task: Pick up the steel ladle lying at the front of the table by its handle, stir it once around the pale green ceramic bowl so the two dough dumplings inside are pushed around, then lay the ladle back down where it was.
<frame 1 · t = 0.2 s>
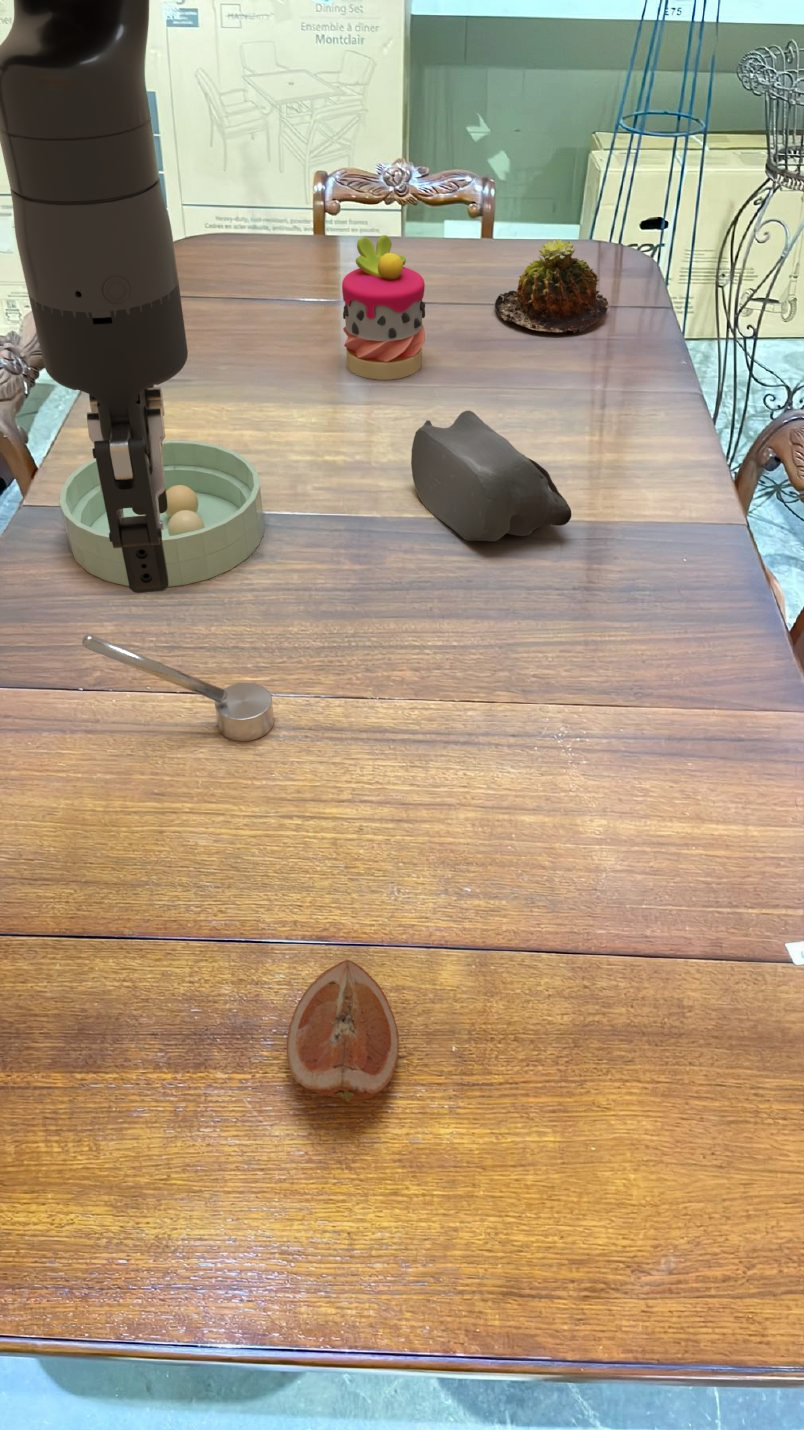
hand: (150, 548, 66), 24 cm above the table, tool pointing down, fingers open, 8 cm apart
dumpling a: (188, 544, 107), point 1 cm above the table, touching bowl
dumpling b: (182, 518, 111), point 1 cm above the table, touching bowl
fruit slice: (343, 1064, 66), on the table
ladle: (246, 722, 89), on the table
rock: (484, 508, 114), on the table
cake: (384, 365, 141), on the table
cactus: (550, 314, 154), on the table
bowl: (169, 539, 109), on the table
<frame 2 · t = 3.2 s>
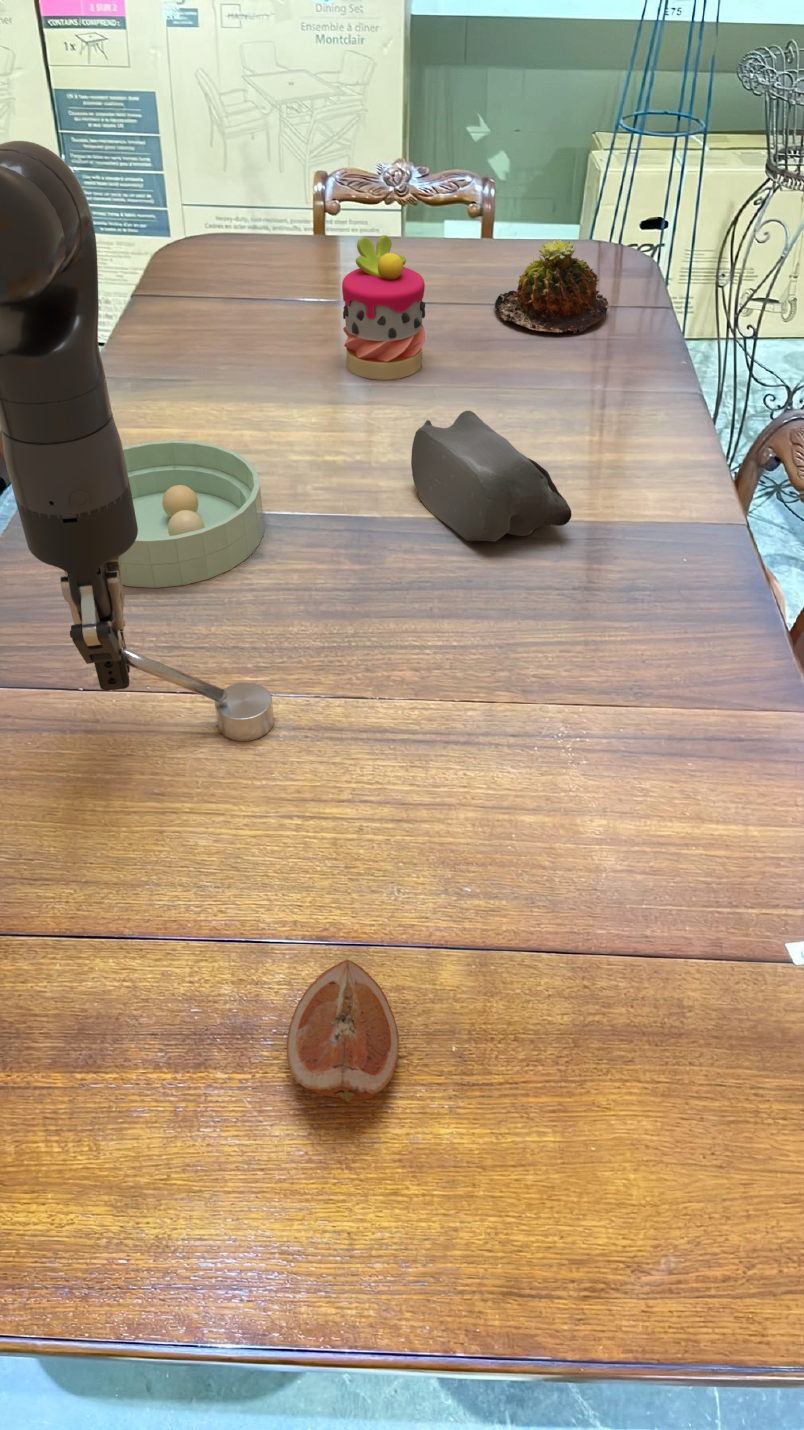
hand: (115, 679, 84), 6 cm above the table, tool pointing down, fingers closed on ladle
ladle: (246, 722, 89), on the table, touching gripper
everything else where it was.
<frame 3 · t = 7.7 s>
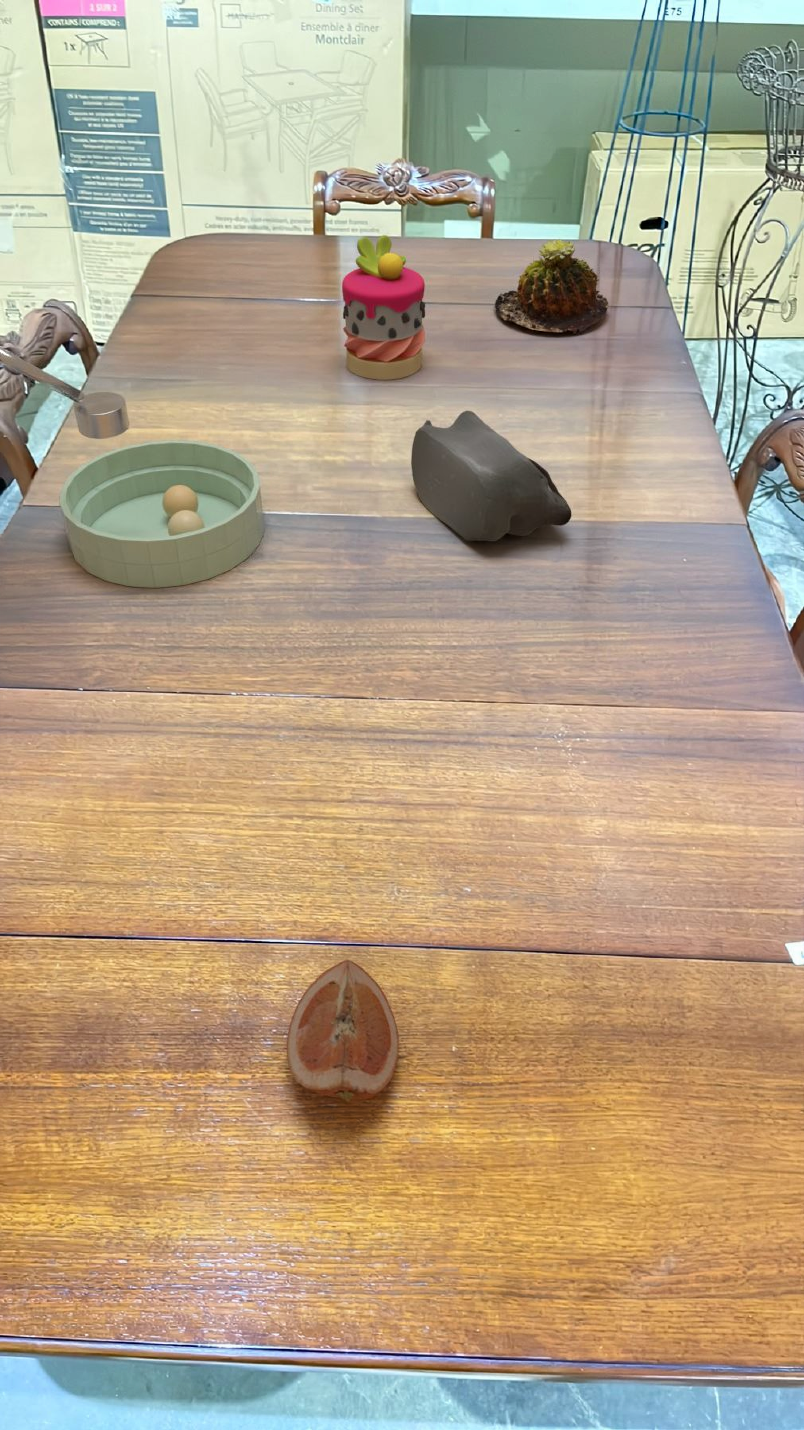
ladle: (104, 427, 99), point 13 cm above the table, touching gripper
everything else where it was.
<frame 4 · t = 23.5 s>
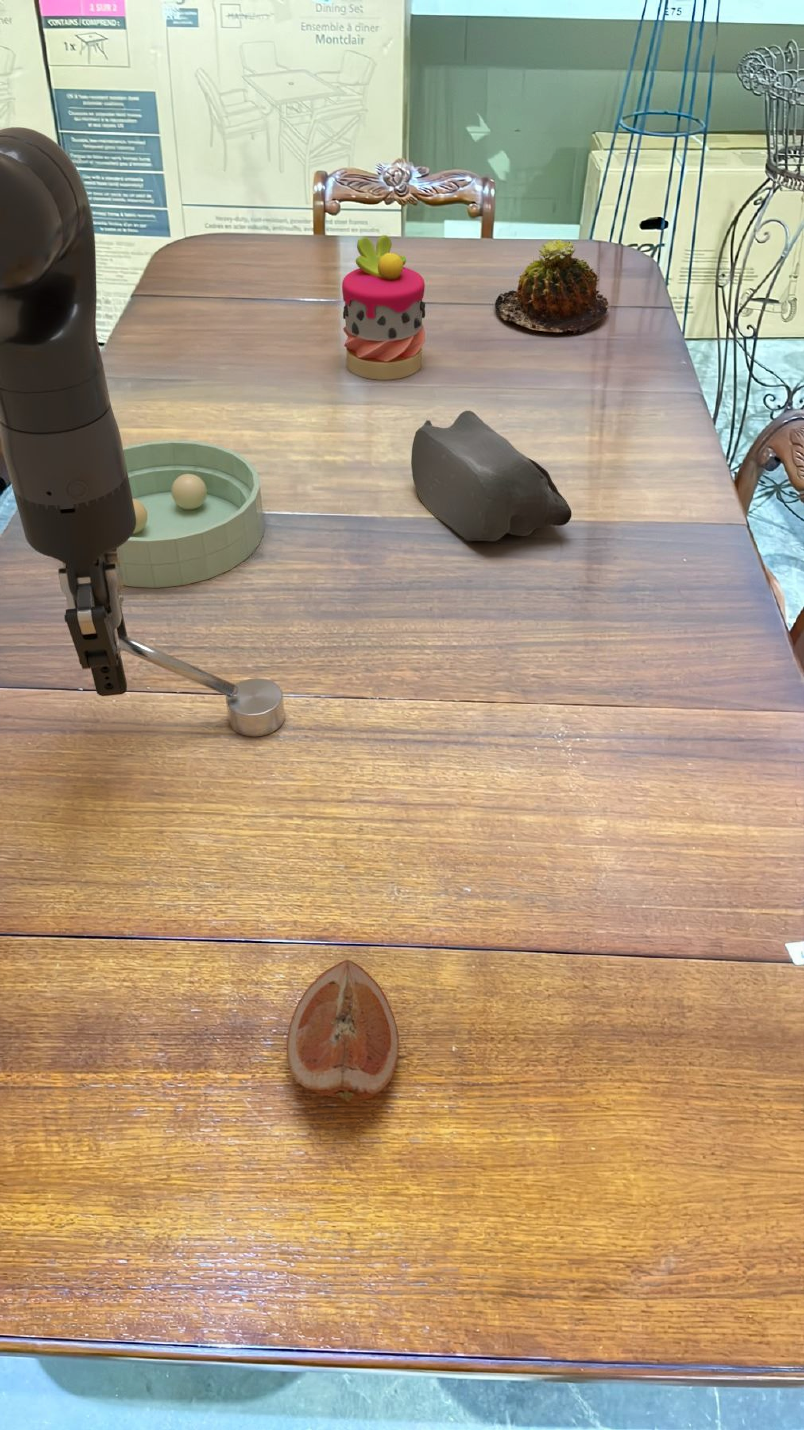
hand: (113, 669, 83), 7 cm above the table, tool pointing down, fingers open, 4 cm apart
dumpling a: (189, 500, 110), point 3 cm above the table, tilted 92°, touching bowl
dumpling b: (143, 517, 107), point 3 cm above the table, tilted 99°, touching bowl
ladle: (257, 718, 89), on the table
everything else where it was.
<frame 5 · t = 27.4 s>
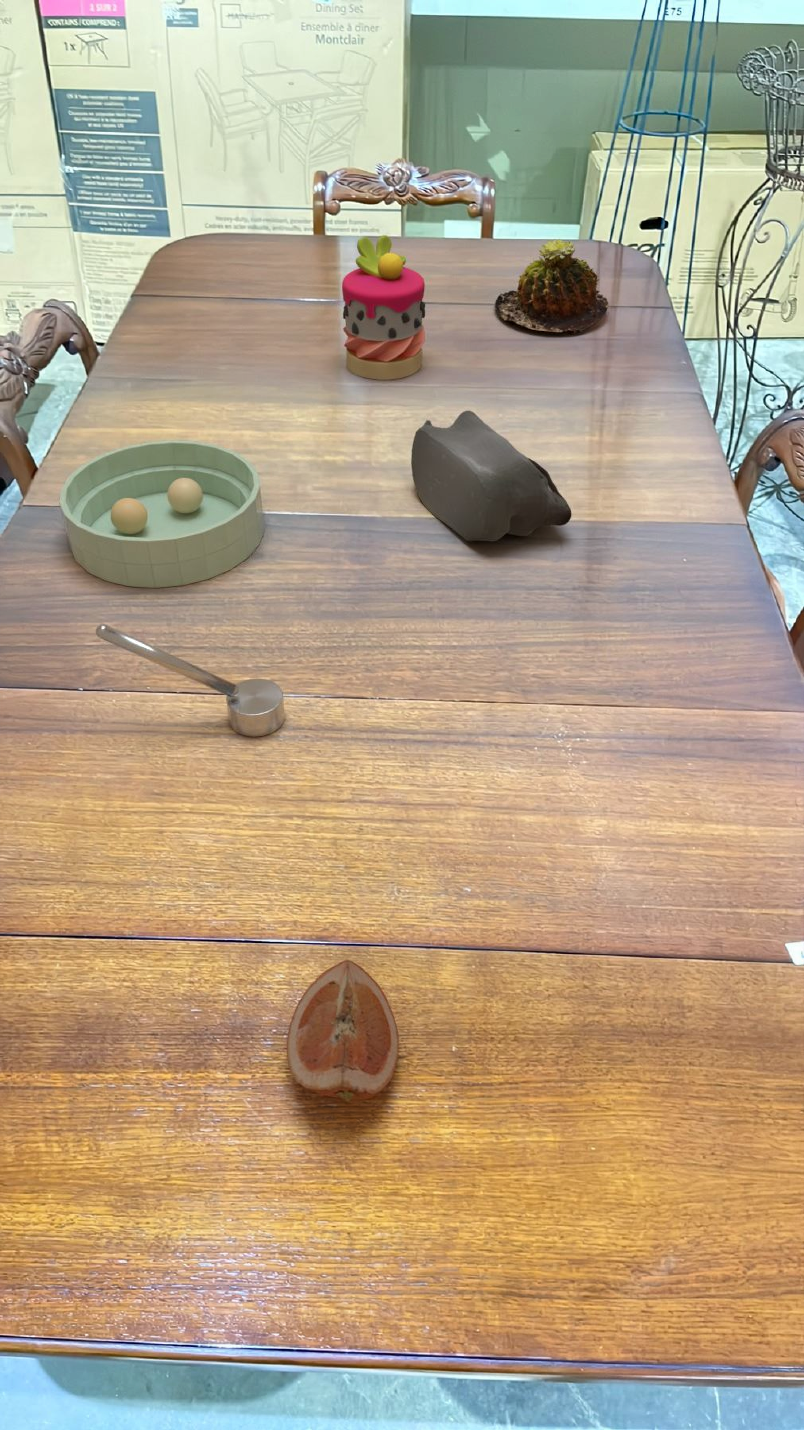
dumpling a: (186, 509, 110), point 2 cm above the table, tilted 69°, touching bowl
everything else where it was.
at the end: dumpling a moved 4.8 cm from its start; dumpling a inside the target area in the bowl (3.0 cm from its centre), point 1.9 cm above the bowl's base; ladle inside the target area (1.0 cm from its centre), on the table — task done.
